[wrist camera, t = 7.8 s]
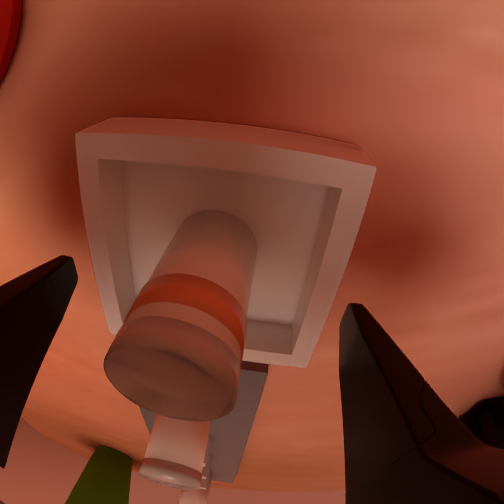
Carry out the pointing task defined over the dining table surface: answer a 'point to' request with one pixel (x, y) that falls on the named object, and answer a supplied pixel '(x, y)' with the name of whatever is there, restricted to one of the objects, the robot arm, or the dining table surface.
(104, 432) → the dining table surface
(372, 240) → the dining table surface
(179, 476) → the cylinder
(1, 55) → the canned food
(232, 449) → the fuse block
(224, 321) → the cylinder
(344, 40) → the dining table surface
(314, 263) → the tray
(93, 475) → the cup
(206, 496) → the cylinder
